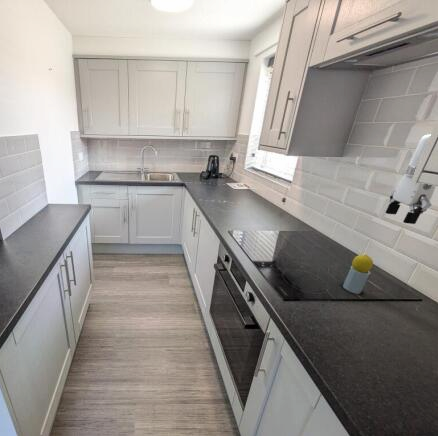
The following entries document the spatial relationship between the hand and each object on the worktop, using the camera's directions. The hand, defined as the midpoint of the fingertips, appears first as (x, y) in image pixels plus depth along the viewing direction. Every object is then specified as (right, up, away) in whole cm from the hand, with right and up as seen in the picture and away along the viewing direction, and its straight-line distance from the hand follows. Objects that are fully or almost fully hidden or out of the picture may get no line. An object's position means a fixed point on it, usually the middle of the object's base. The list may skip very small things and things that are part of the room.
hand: (399, 218), depth 86 cm
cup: (-13, -28, +5) cm, 31 cm away
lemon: (-13, -21, +2) cm, 25 cm away
